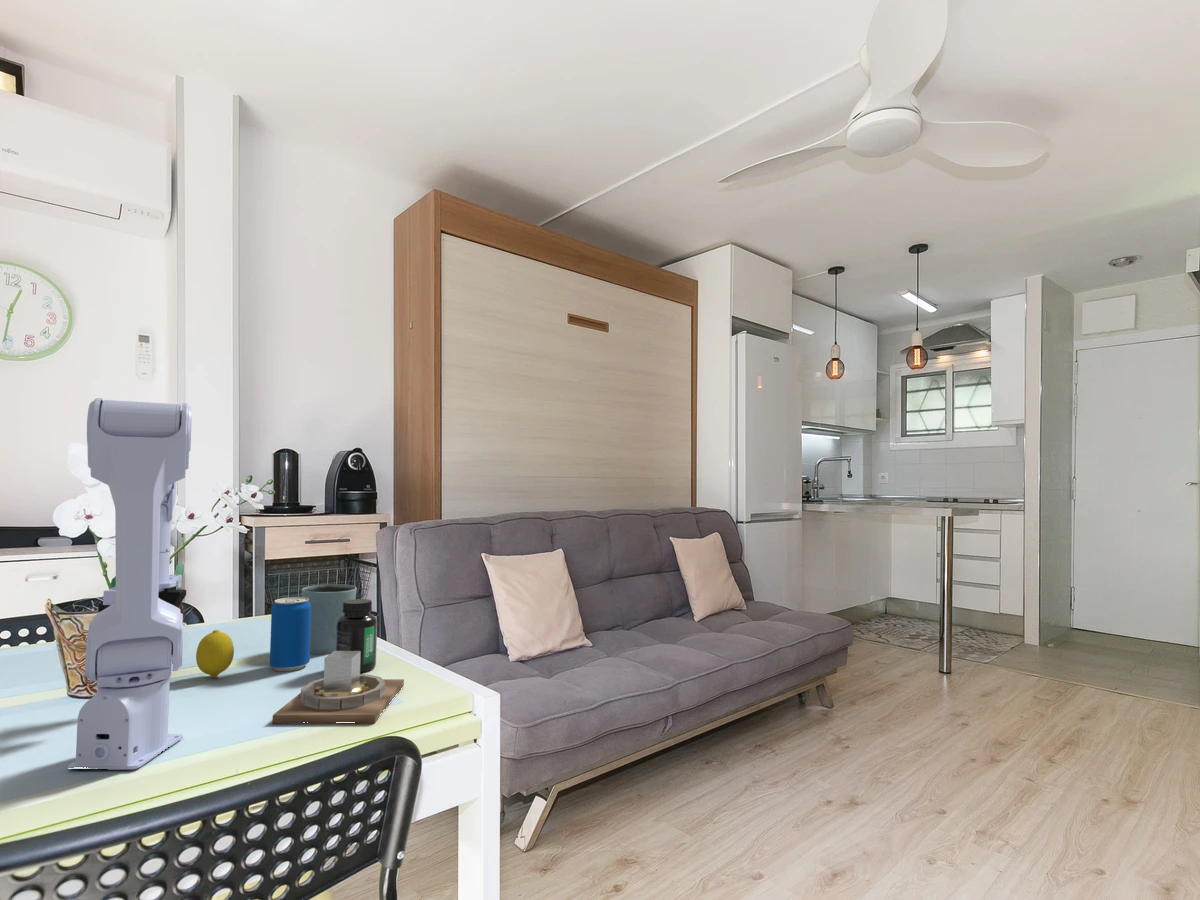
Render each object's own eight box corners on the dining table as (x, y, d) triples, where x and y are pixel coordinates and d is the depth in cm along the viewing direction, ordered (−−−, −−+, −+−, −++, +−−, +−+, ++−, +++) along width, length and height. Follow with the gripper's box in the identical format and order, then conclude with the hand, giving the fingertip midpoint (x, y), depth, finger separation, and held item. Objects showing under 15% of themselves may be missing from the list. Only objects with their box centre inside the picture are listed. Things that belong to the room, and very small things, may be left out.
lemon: (215, 683, 108) (217, 634, 108) (187, 681, 109) (188, 632, 109) (240, 673, 113) (242, 627, 114) (213, 671, 114) (214, 625, 115)
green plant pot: (292, 647, 131) (294, 586, 131) (343, 639, 138) (345, 581, 138) (310, 658, 123) (312, 594, 124) (363, 649, 130) (364, 588, 131)
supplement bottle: (379, 671, 116) (380, 603, 116) (337, 676, 112) (339, 606, 113) (372, 661, 122) (374, 596, 122) (333, 666, 118) (334, 599, 119)
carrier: (374, 723, 92) (375, 703, 92) (272, 723, 91) (273, 704, 91) (403, 686, 108) (404, 670, 108) (317, 686, 107) (317, 670, 107)
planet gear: (359, 704, 96) (360, 661, 96) (305, 704, 95) (306, 661, 95) (375, 687, 103) (376, 647, 104) (325, 687, 103) (326, 647, 103)
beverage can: (310, 660, 122) (312, 595, 122) (308, 670, 116) (310, 602, 116) (271, 664, 119) (273, 597, 120) (267, 674, 113) (269, 604, 114)
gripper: (142, 558, 89) (138, 659, 88) (202, 546, 103) (199, 633, 103) (88, 558, 89) (84, 659, 88) (156, 546, 103) (153, 633, 103)
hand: (143, 645), depth 95 cm, fingers open, 7 cm apart
